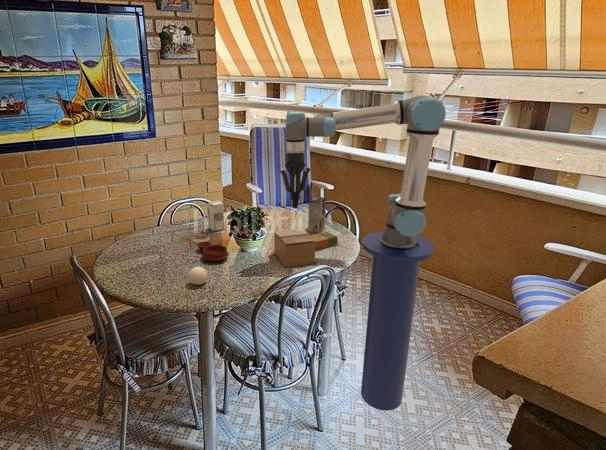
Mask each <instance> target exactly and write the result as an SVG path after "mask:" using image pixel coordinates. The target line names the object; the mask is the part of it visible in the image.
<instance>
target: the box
mask: <svg viewBox="0 0 606 450" xmlns="http://www.w3.org/2000/svg"><path fill="white" fill-rule="evenodd" d="M273 237H274V239H273V240H274V242H273V243H274V245H273V247H274V250H273V253H274V255H275V256H276V258H277V259H278V260H279V262H281V264H282V265H283V267H284V268H289V267H296V266H304V265H312V264H315V263H316V261H315V260H316V250H315V242H314V241H315V240H314V239H313V238H312V237H311V235H310V233H308V234H307V235H299V236H290V237H281V238H280V237H279V236H278V235H277V234H276V233H275V232H274V236H273Z"/></svg>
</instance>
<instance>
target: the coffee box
mask: <svg viewBox="0 0 606 450" xmlns="http://www.w3.org/2000/svg"><path fill="white" fill-rule="evenodd" d="M326 201H327V198H326V197H321V196H315V195H314V196H312V198H311V199H309V200H308V216H307V217H308V218H307V219H308V220H307V232H311V233H316V234H319V233H322V231H323V230H324V229H325V227H326V204H327V203H326Z"/></svg>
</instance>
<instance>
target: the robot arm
mask: <svg viewBox="0 0 606 450" xmlns="http://www.w3.org/2000/svg"><path fill="white" fill-rule="evenodd" d="M446 117H447V111H446V107H445V104H443V101H441V100H440V99H439V98H437V97H435V96H430V95H429V96H428V95H417V96H413V97H410V98H406V99H400V100H396V101H395V102H394V103H392V104H384V105H377V106H376V105H375V106H370V107H363V108H356V109H349V110H342V111H336V112H335V111H333V112H329V113H317V114H316V115H314V116H312V117H308V116H306V114H305V112H304V111H291V112H288V113H286V115H285V164H284V167H283V168H280V169H279V172H280V174H281V176H282V180H283V185H284V188H285V191H286V192H288V193H289V199H290V200H291V207H292V208H293V209H298V207H299V200H300V198H301V193H302V192H303V191H304V190H305V188H306V183H307V180H308V176H309V173H310V172H311V168H310V167H309V166H307V165H306V163H305V150H306V149H305V146H306V145H305V138H310V137H315V138H319V137H321V138H322V137H323V138H328V137H334V136H335V134H336V131H342V130H352V129H359V128H366V127H374V126H382V125H390V124H396V125H398V126H400V125H406V130H405V131H406V132H405V133H406V134H407V136H408V137H409V139H408V146H407V150H406V151H407V152H406V159H405V164H404V165H405V166H404V170H403V177H402V183H401V190H400V193H394V194H393V193H392V194H390V195H389V196H388V201H387V202H388V203H387V214H386V223H385V228H384V230H383V231H382V232H383V234H382V236H381V241H380V242H381V244H382V245H384V246H385V247H388V248H391V249H397V250H408V249H412V248H414V247H415V246H416V245H418V246H419V245H420V244H418V243H416V239H415V235H417V236H418V235H419V234H421V233H422V232H423V230H424V229H425V227H426V223H427V220H426V217H425V212H426V206H427V202H425V200H424V193H425V188H426V182H427V178H428V172H429V167H430V160H431V155H432V149H433V143H434V139H435V138H437V137H438V136H439V135H440V129H441V126H442V125H443V123H444V121H445V120H446ZM287 172H288V174H289V179H288V175H287Z"/></svg>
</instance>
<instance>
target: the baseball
mask: <svg viewBox="0 0 606 450" xmlns="http://www.w3.org/2000/svg"><path fill="white" fill-rule="evenodd" d="M208 276H209V274H208V271H207V270H206V269H205V268H204V267H202V266H195V267H192V268H191V269H190V270H189V272H188V279H189V282H190V283H191V284H192V285H196V286H199V285H203V284H204V283H205V282H206V281H207V279H208Z"/></svg>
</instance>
